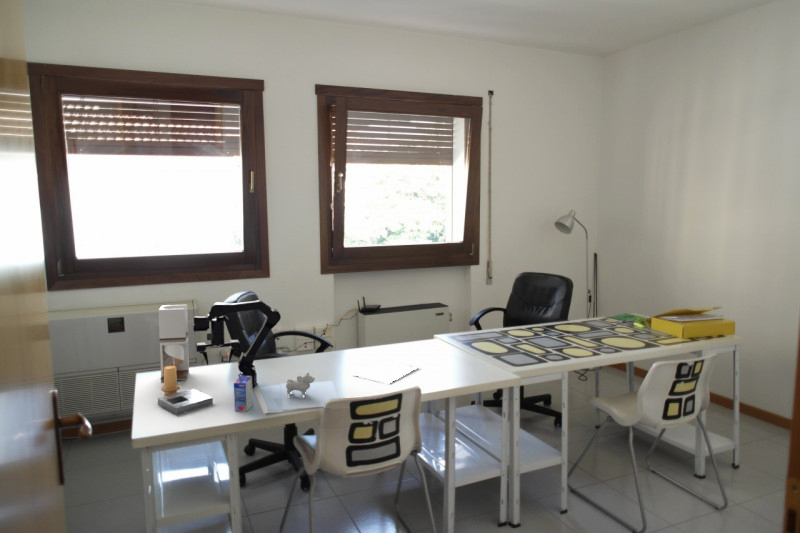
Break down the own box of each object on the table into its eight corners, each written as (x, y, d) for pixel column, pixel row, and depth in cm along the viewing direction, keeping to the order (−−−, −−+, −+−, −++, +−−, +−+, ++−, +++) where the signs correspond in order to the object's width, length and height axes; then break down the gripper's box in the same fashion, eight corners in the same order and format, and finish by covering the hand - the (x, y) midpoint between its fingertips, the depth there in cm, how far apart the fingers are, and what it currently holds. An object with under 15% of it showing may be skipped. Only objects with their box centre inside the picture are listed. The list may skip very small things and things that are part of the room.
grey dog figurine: (313, 398, 231) (313, 375, 230) (285, 397, 232) (284, 374, 230) (315, 394, 237) (316, 371, 235) (287, 393, 237) (287, 370, 236)
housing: (193, 394, 232) (193, 388, 232) (212, 404, 222) (212, 397, 222) (157, 404, 220) (157, 398, 220) (176, 415, 210) (176, 408, 210)
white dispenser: (160, 382, 248) (158, 309, 244) (164, 374, 258) (162, 305, 254) (186, 380, 251) (184, 308, 247) (188, 373, 261) (187, 304, 257)
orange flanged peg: (179, 392, 236) (179, 364, 234) (180, 397, 229) (179, 369, 227) (161, 394, 232) (160, 365, 231) (161, 400, 226) (160, 371, 224)
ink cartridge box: (240, 402, 225) (239, 370, 223) (253, 402, 225) (252, 370, 223) (233, 411, 215) (233, 377, 213) (247, 411, 215) (246, 377, 213)
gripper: (236, 325, 248) (237, 357, 250) (194, 328, 240) (195, 361, 242) (240, 330, 238) (240, 363, 240) (196, 333, 230) (197, 368, 232)
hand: (218, 363), depth 239 cm, fingers open, 9 cm apart
